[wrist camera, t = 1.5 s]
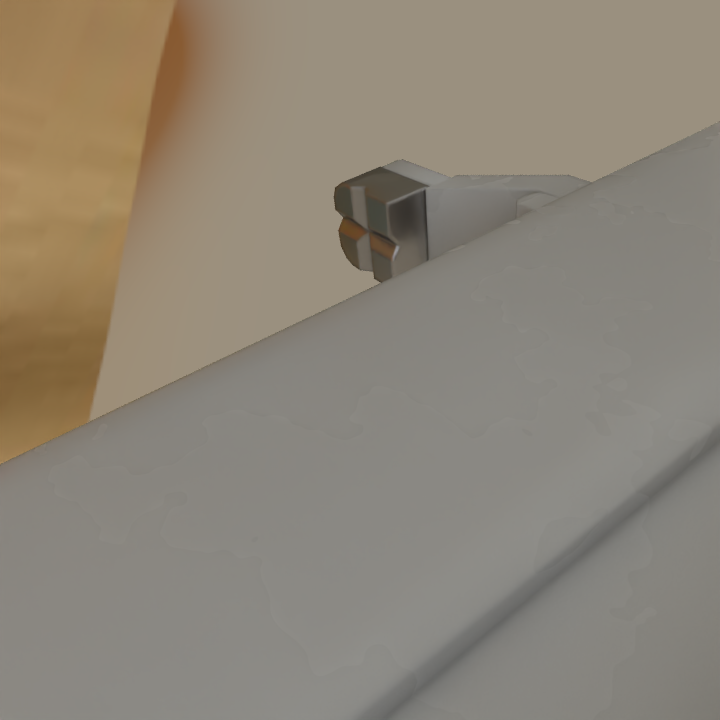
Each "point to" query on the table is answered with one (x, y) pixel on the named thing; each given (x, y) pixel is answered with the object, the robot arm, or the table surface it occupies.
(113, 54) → the table surface
